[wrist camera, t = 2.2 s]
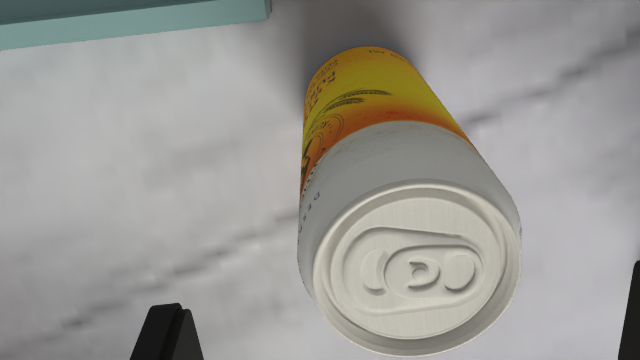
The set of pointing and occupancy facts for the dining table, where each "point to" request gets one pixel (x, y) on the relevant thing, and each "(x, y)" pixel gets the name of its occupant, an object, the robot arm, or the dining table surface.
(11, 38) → the tray
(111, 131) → the dining table surface
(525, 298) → the dining table surface
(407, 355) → the beer can
